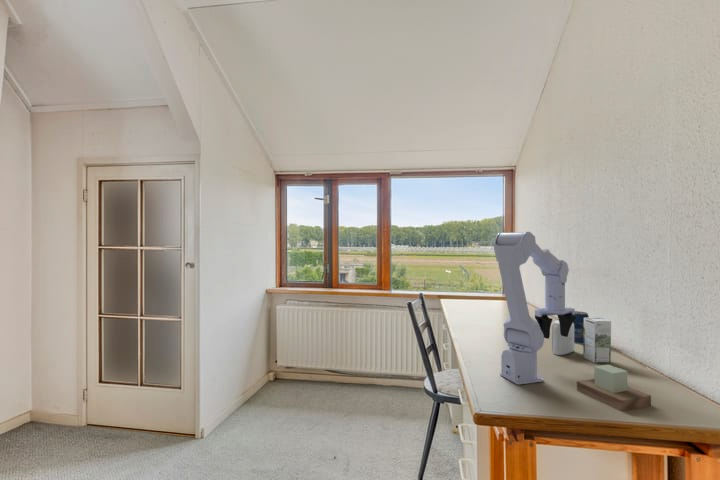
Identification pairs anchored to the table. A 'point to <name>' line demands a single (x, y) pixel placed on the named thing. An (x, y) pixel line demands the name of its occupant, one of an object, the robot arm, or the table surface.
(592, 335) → the syrup box
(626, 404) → the walnut block
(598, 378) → the sage cube
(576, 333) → the soda can
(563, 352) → the photo printer
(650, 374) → the table surface
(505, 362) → the robot arm
